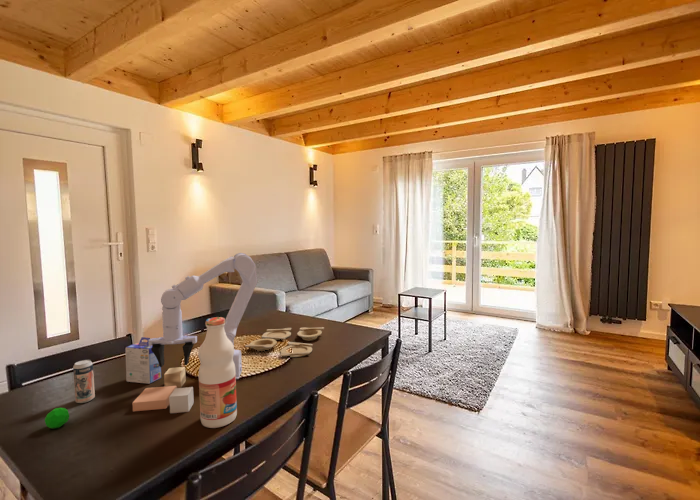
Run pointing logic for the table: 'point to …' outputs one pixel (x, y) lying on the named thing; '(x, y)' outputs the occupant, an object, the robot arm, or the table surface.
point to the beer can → (83, 381)
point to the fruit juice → (217, 376)
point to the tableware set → (298, 348)
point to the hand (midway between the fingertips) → (174, 365)
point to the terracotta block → (153, 398)
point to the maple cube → (175, 377)
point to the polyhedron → (57, 418)
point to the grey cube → (181, 400)
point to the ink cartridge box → (141, 363)
